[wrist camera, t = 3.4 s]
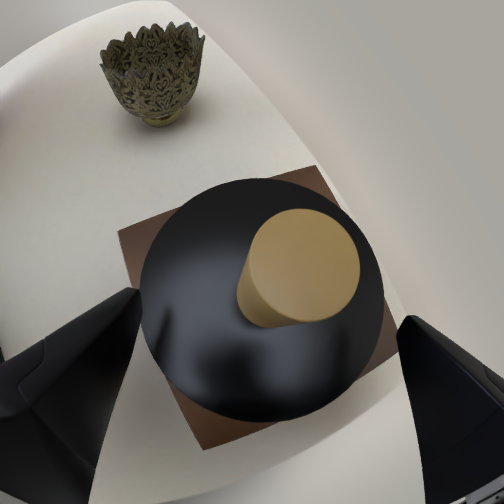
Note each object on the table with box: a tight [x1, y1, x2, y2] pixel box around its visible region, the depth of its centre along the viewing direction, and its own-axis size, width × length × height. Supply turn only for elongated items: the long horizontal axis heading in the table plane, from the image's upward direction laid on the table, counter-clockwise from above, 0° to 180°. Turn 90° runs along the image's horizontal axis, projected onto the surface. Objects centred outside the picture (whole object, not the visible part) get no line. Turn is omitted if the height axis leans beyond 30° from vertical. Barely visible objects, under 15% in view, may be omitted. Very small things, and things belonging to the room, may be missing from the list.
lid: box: [139, 178, 384, 423], centre depth 9 cm, size 11×11×6 cm
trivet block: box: [117, 165, 399, 450], centre depth 14 cm, size 11×11×5 cm
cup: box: [99, 21, 205, 127], centre depth 17 cm, size 8×7×8 cm
